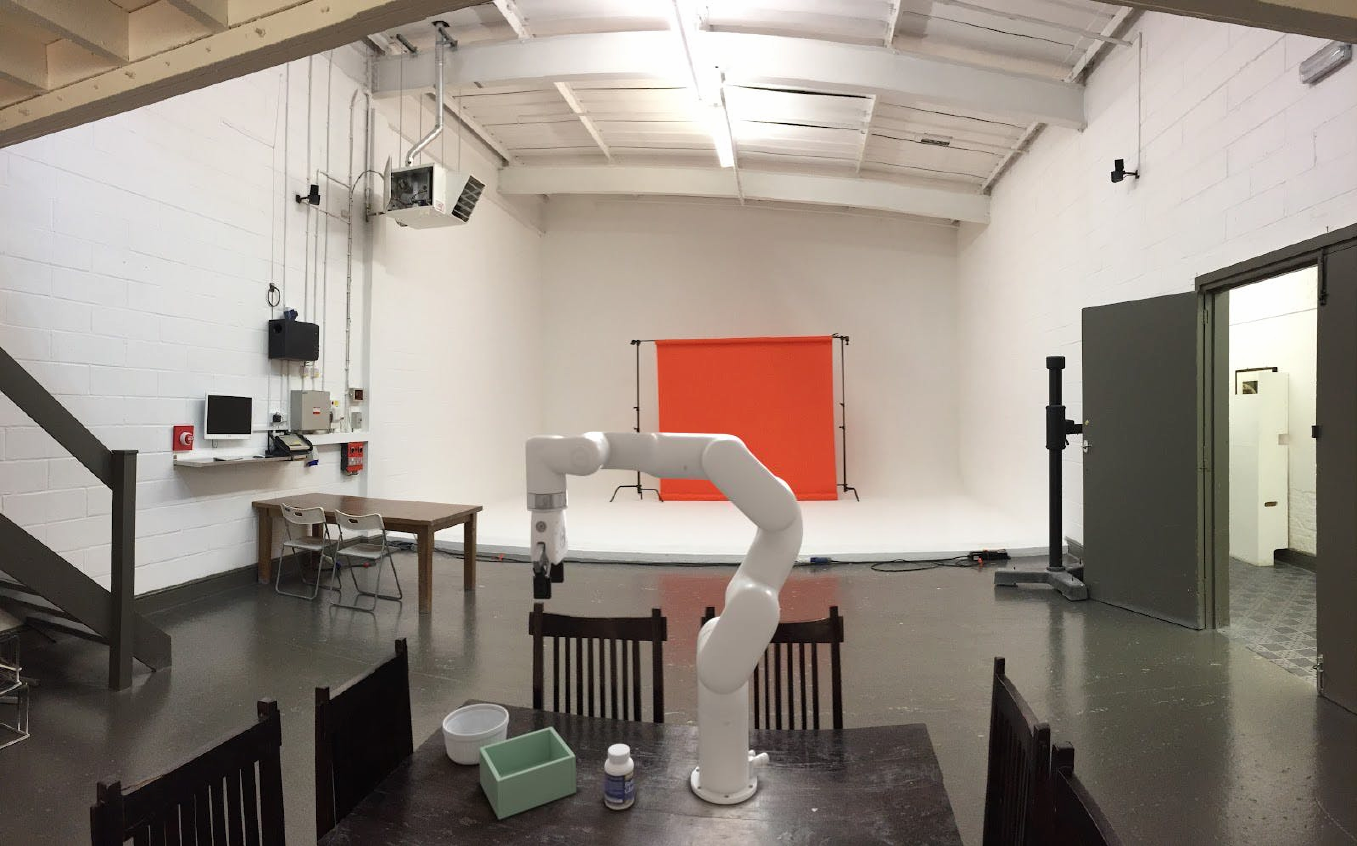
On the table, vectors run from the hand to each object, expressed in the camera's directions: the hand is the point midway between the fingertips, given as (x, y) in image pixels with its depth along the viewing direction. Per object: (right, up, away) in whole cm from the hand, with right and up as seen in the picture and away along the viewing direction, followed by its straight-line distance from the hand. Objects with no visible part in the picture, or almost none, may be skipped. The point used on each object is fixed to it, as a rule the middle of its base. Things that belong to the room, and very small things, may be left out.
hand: (549, 590), depth 124 cm
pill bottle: (+14, -38, -4) cm, 40 cm away
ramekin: (-18, -37, +13) cm, 43 cm away
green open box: (-4, -37, 0) cm, 38 cm away
